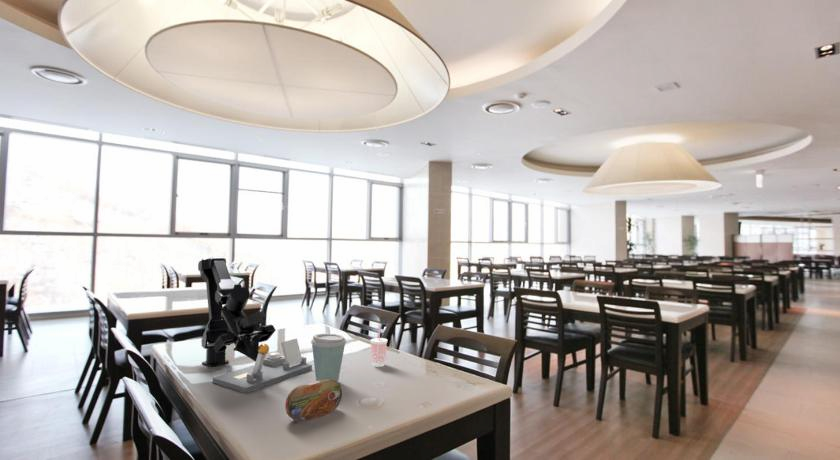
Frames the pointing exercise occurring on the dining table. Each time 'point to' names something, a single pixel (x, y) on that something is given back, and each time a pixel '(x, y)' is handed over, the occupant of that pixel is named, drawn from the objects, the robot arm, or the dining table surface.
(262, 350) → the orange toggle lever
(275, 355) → the cream push button
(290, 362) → the grey paddle
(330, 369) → the disposable coffee cup
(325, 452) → the dining table surface
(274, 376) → the switch panel
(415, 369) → the dining table surface
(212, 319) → the robot arm
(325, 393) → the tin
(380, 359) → the beverage cup
